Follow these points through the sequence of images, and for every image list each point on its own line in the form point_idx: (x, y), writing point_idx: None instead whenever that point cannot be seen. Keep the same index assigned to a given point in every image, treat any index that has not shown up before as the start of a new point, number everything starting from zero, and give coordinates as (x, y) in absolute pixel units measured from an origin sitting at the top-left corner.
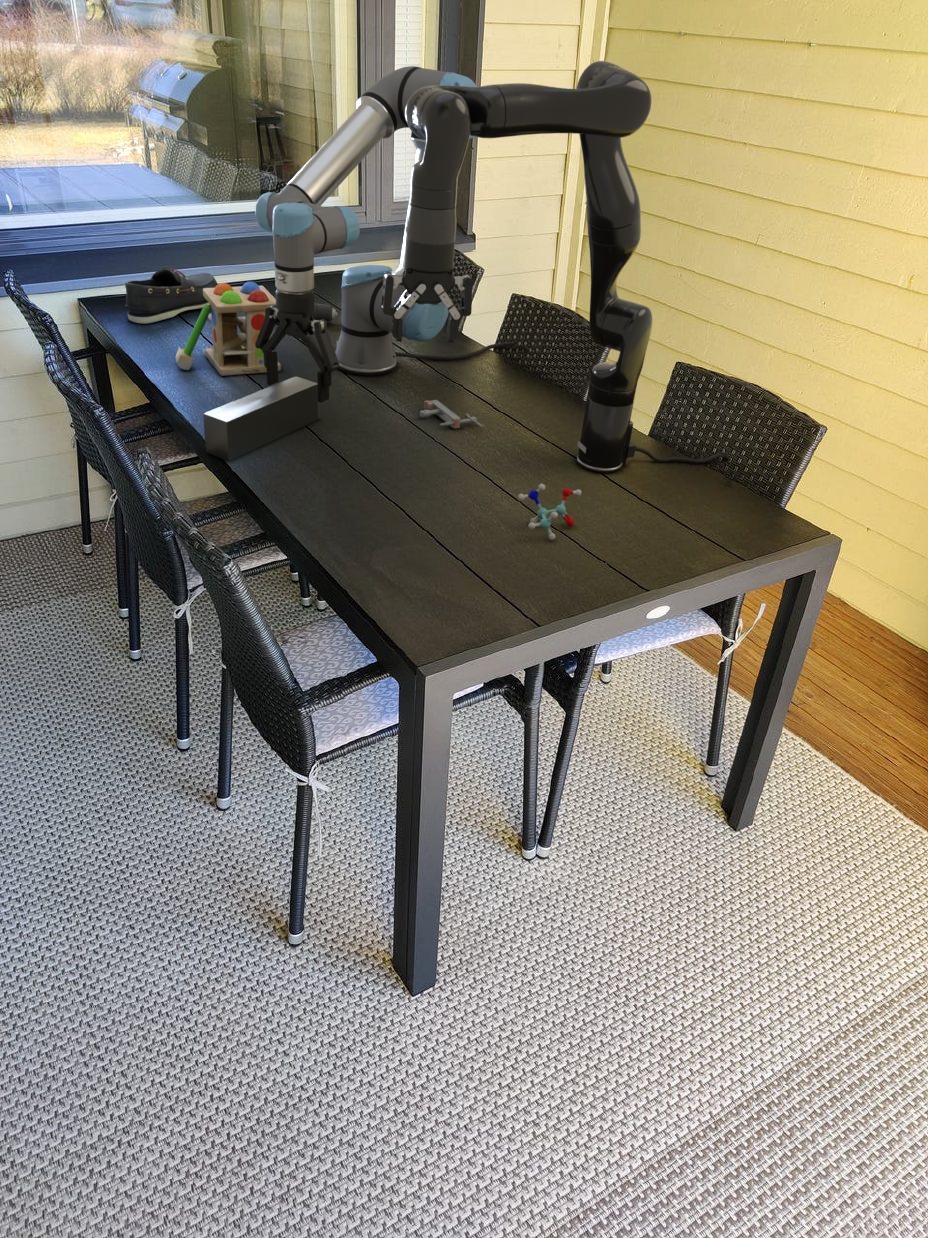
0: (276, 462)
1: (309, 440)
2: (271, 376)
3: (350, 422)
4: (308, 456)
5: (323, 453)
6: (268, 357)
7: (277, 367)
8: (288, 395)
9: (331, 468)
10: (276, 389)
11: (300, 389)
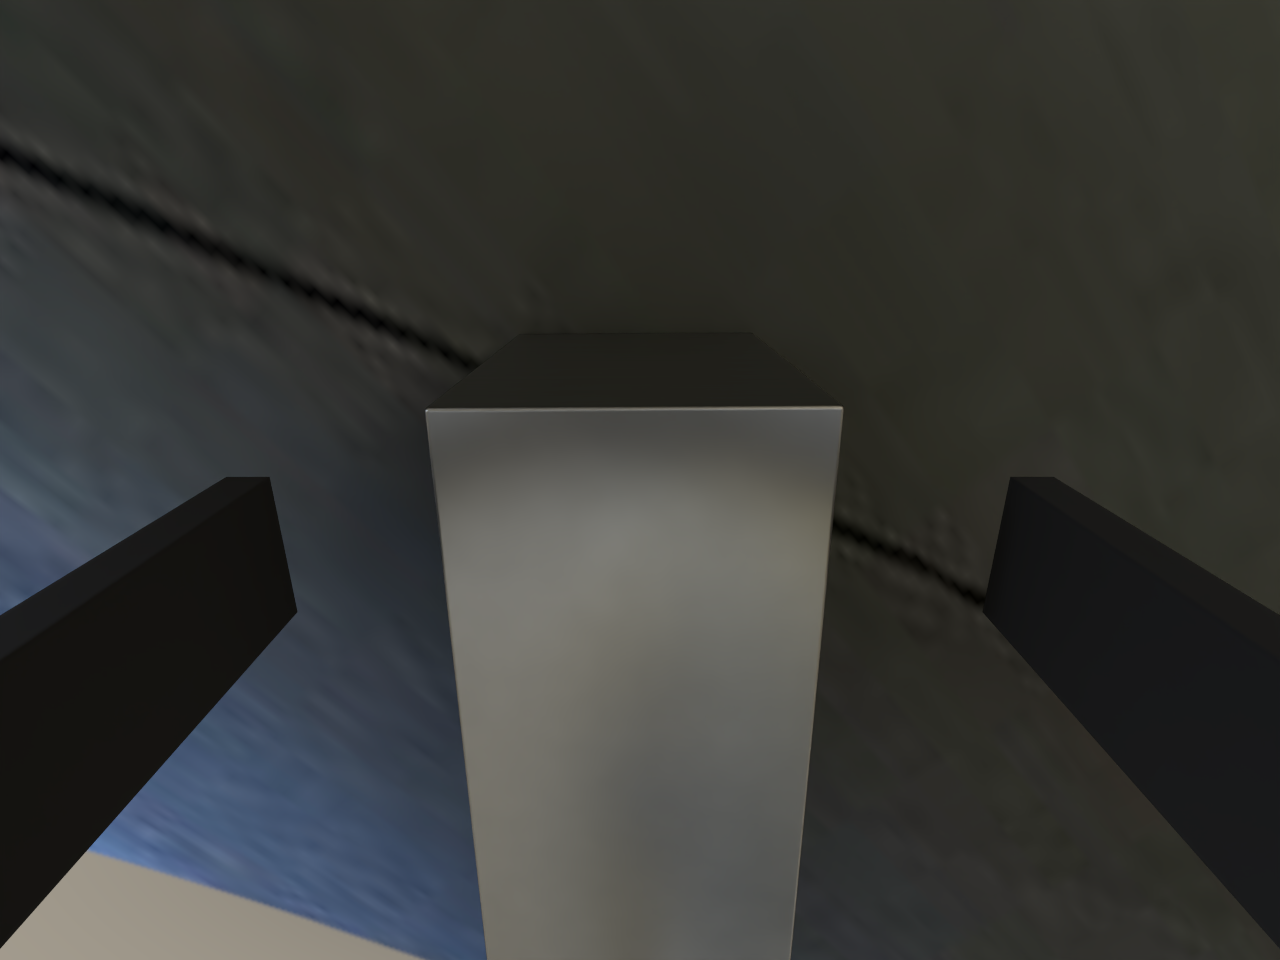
0: (917, 937)
1: (912, 646)
2: (238, 642)
3: (1008, 175)
4: (1029, 802)
5: None
6: (14, 924)
7: (147, 575)
8: (791, 892)
9: None
10: (585, 860)
11: (787, 704)
